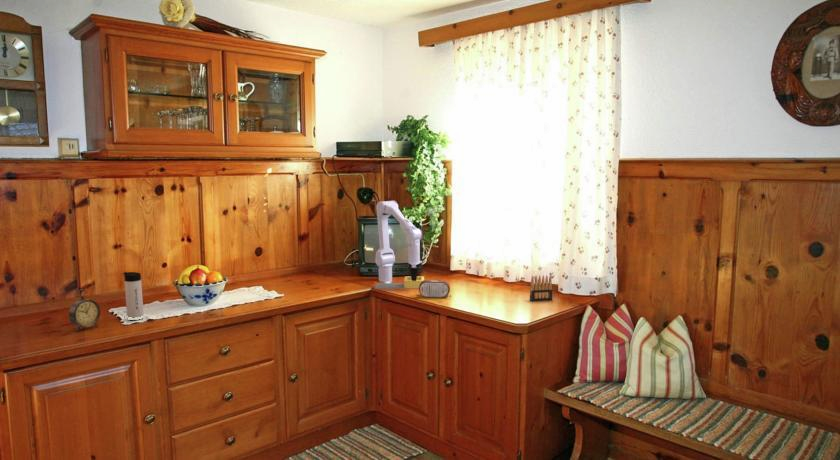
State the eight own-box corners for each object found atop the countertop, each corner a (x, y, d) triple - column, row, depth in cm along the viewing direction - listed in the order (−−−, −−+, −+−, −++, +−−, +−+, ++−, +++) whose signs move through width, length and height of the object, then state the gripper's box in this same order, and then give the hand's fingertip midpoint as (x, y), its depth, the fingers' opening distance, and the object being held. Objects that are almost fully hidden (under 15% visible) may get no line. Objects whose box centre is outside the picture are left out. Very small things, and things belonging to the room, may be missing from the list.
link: (405, 284, 307) (405, 276, 307) (424, 284, 307) (424, 276, 307) (404, 288, 297) (404, 280, 297) (424, 288, 297) (423, 280, 297)
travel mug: (130, 317, 250) (126, 271, 247) (146, 316, 250) (143, 270, 248) (123, 321, 243) (120, 274, 241) (140, 320, 244) (137, 273, 241)
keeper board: (376, 285, 310) (376, 283, 310) (426, 285, 309) (426, 283, 309) (374, 290, 297) (374, 288, 297) (426, 290, 296) (426, 288, 296)
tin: (450, 296, 283) (450, 279, 282) (449, 298, 280) (449, 281, 279) (419, 296, 285) (418, 279, 284) (418, 297, 282) (418, 280, 281)
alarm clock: (76, 333, 227) (73, 292, 225) (67, 331, 229) (64, 291, 227) (102, 326, 237) (99, 286, 235) (93, 324, 239) (90, 285, 237)
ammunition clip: (550, 299, 278) (551, 274, 276) (552, 300, 276) (553, 275, 274) (529, 300, 276) (529, 275, 274) (530, 301, 274) (531, 276, 272)
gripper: (421, 255, 289) (421, 282, 291) (422, 250, 303) (422, 276, 305) (407, 255, 289) (407, 282, 291) (408, 250, 304) (408, 276, 305)
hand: (414, 279), depth 298 cm, fingers open, 7 cm apart
